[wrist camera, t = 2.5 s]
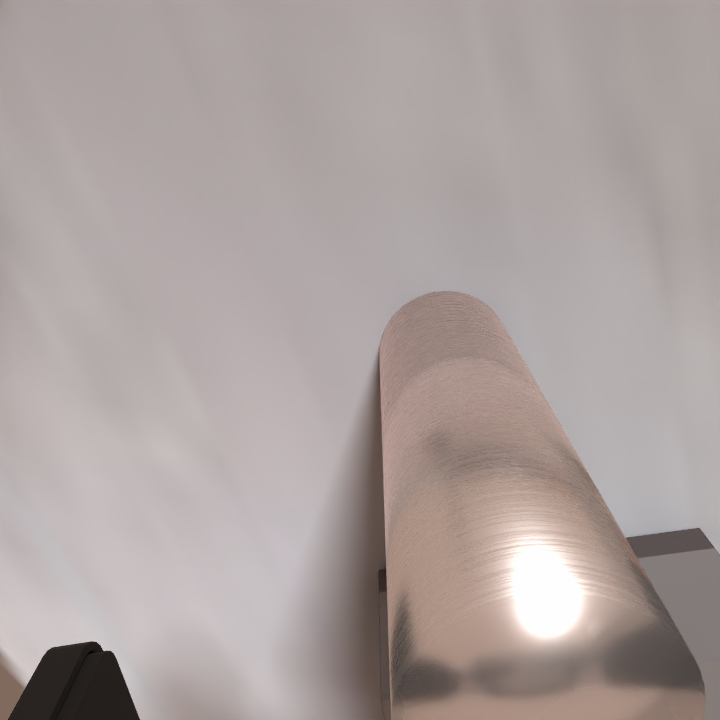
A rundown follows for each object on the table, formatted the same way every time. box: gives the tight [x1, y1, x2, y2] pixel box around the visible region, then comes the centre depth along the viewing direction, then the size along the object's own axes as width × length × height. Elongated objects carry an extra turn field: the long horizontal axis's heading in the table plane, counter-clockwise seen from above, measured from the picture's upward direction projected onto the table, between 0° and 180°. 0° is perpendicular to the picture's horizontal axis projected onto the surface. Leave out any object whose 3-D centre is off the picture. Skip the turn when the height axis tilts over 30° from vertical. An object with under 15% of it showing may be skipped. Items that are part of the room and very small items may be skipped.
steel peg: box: [379, 291, 706, 720], centre depth 14 cm, size 4×4×12 cm
